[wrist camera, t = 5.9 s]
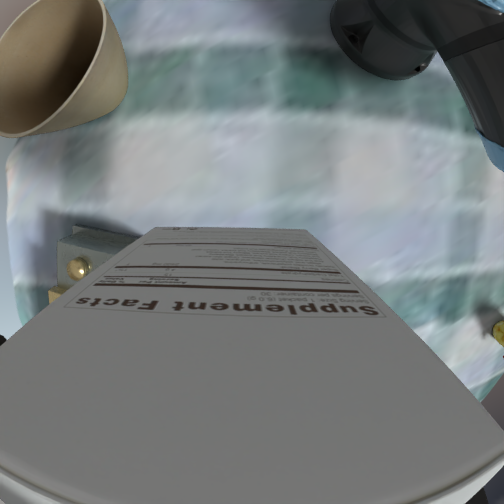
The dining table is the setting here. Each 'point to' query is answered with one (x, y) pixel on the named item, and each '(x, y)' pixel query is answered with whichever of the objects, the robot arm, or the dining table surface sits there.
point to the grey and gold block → (85, 255)
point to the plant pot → (59, 67)
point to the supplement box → (233, 385)
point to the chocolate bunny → (499, 332)
